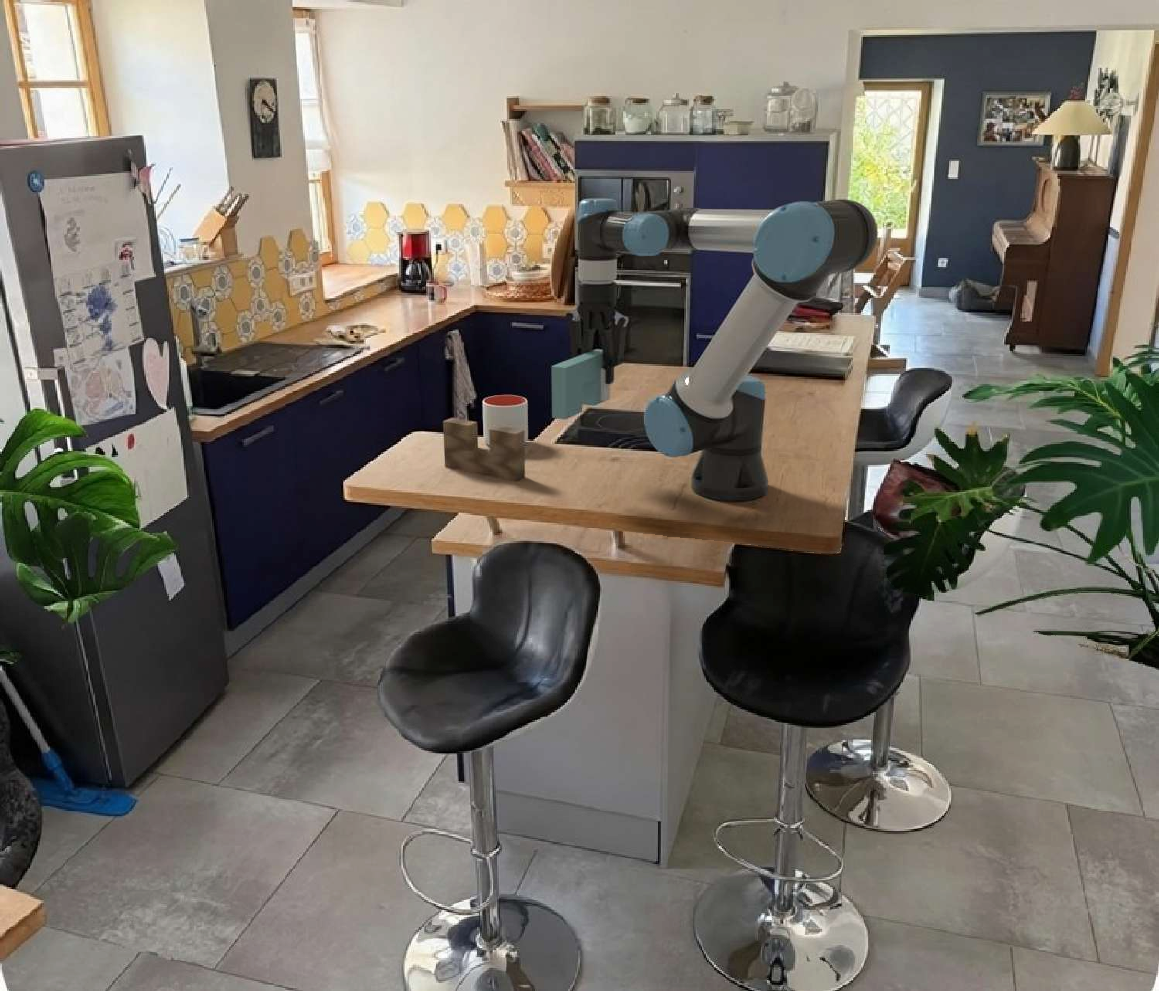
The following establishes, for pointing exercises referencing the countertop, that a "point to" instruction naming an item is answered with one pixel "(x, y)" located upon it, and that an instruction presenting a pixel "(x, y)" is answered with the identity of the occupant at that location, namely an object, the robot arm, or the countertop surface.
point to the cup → (505, 414)
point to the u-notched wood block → (484, 450)
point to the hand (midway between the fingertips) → (597, 397)
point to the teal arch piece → (576, 384)
